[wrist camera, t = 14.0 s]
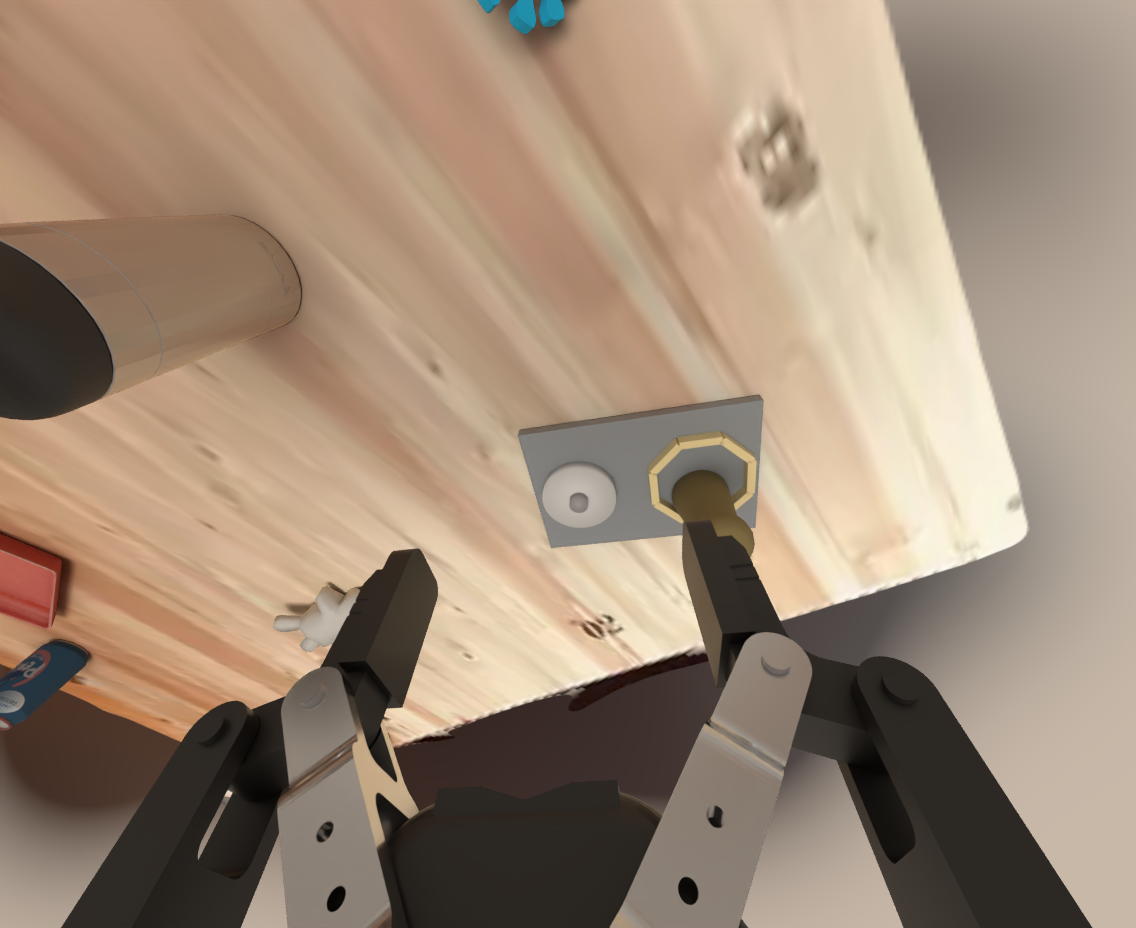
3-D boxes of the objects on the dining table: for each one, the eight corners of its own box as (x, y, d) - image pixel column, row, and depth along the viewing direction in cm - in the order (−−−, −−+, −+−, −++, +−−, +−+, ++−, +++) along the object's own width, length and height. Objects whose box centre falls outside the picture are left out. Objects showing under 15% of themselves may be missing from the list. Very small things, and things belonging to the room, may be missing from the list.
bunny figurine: (387, 634, 58) (306, 669, 61) (398, 606, 63) (323, 639, 66) (338, 593, 54) (254, 633, 57) (354, 566, 58) (276, 603, 61)
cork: (718, 461, 43) (752, 509, 32) (737, 509, 44) (774, 569, 34) (663, 482, 44) (678, 535, 34) (683, 528, 46) (703, 591, 35)
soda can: (65, 634, 71) (-23, 707, 60) (102, 657, 74) (24, 729, 64) (40, 641, 72) (-51, 712, 62) (76, 663, 76) (-4, 734, 66)
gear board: (552, 541, 52) (549, 563, 49) (519, 430, 43) (513, 448, 40) (752, 520, 48) (762, 543, 45) (759, 394, 40) (772, 411, 36)
